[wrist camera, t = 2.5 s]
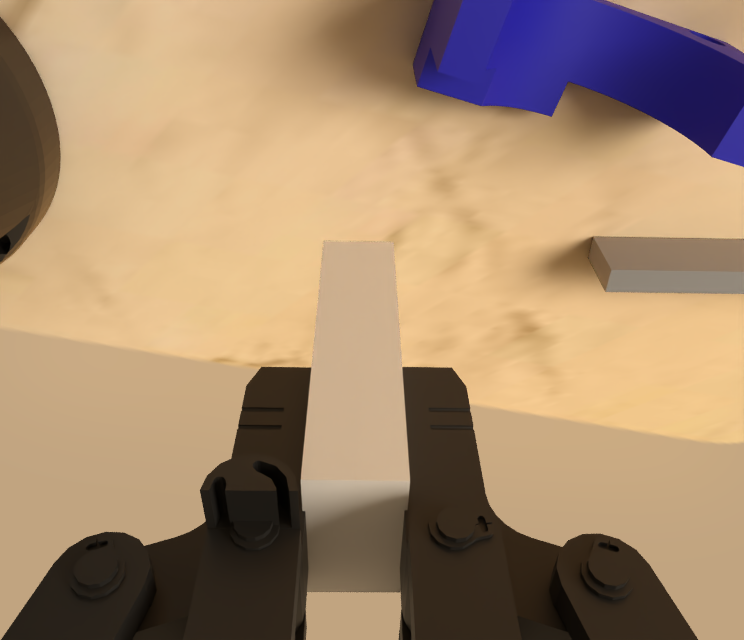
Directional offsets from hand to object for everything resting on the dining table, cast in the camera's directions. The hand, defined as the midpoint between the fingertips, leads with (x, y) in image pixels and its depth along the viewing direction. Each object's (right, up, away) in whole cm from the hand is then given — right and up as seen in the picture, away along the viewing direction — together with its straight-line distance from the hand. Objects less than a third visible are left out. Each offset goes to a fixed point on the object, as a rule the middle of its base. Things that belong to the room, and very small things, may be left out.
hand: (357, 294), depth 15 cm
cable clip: (+8, +11, +13) cm, 19 cm away
